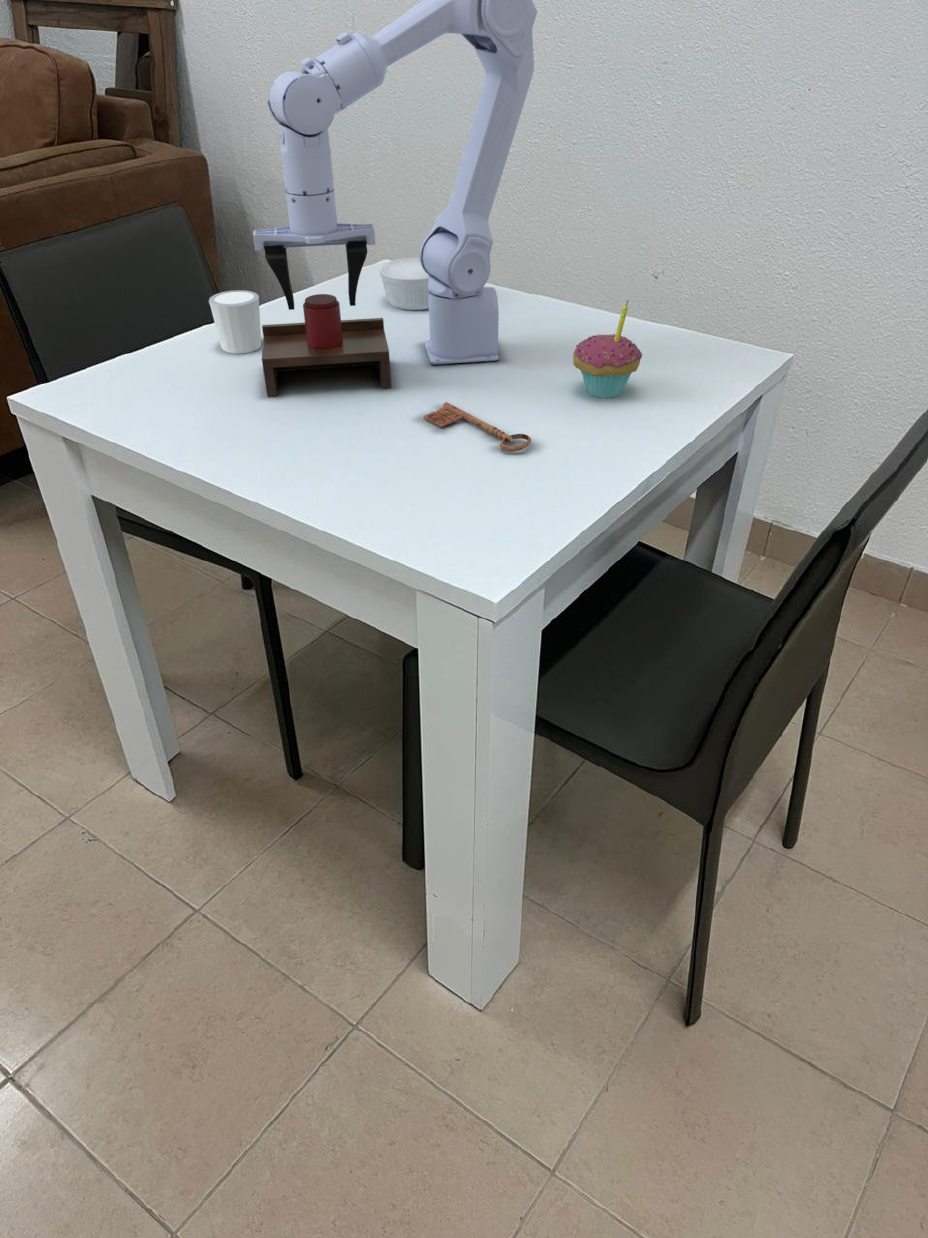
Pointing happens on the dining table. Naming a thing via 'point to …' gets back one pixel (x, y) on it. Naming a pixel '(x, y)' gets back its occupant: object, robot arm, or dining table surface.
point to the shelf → (324, 350)
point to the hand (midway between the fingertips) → (322, 305)
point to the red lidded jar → (322, 321)
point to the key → (453, 414)
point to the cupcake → (607, 361)
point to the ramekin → (406, 284)
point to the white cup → (237, 320)
